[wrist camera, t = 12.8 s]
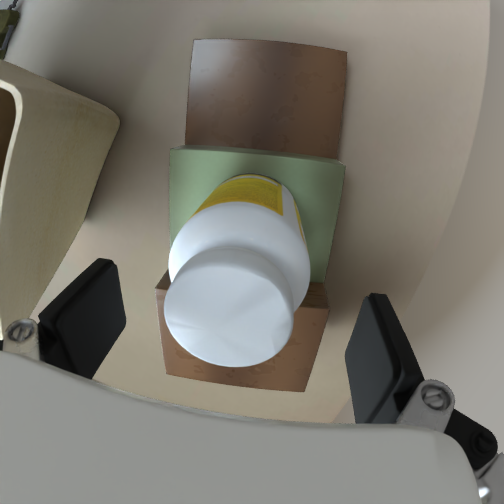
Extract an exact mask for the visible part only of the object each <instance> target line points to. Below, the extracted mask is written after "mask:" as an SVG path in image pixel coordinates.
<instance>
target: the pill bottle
mask: <svg viewBox="0 0 504 504" xmlns="http://www.w3.org/2000/svg"><path fill="white" fill-rule="evenodd" d="M169 275H170V279H171V285H170V287H169V289H168V291H167V293H166V296H165V301H164V316H165V320H166V323H167V326H168V328H169V330H170V332H171V334H172V335H173V337H174V338H175V339H176V341H177V342H178V343H179V344H180V345H181V346H182V347H183V348H184V349H186V350H187V351H188V352H190V353H191V354H193V355H194V356H196V357H198V358H200V359H202V360H204V361H206V362H209V363H212V364H216V365H221V366H227V367H245V366H252V365H256V364H259V363H262V362H264V361H266V360H268V359H270V358H272V357H273V356H275V355H276V354H277V353H278V352H279V351H281V350H282V348H283V347H284V346H285V345H286V343H287V342H288V340H289V338H290V336H291V333H292V330H293V322H294V312H295V311H296V310H297V308H298V307H299V306H300V304H301V303H302V301H303V299H304V297H305V295H306V292H307V290H308V286H309V281H310V259H309V254H308V249H307V244H306V240H305V236H304V232H303V228H302V224H301V220H300V215H299V210H298V207H297V204H296V201H295V199H294V198H293V196H292V194H291V193H290V192H289V190H288V189H287V188H286V187H285V186H284V185H283V184H281V183H280V182H279V181H277V180H275V179H274V178H272V177H269V176H267V175H263V174H258V173H244V174H239V175H235V176H233V177H230V178H228V179H227V180H225V181H223V182H222V183H221V184H220V185H218V186H217V187H216V188H215V189H214V190H213V192H212V193H211V194H210V195H209V196H208V197H207V199H206V200H205V201H204V202H203V203H202V204H201V206H200V207H199V208H198V209H197V210H196V211H195V213H194V214H193V215H192V216H191V217H190V219H189V220H188V221H187V222H186V223H185V224H184V226H183V227H182V228H181V230H180V231H179V233H178V234H177V236H176V238H175V240H174V242H173V245H172V248H171V252H170V256H169Z"/></svg>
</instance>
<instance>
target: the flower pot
mask: <svg viewBox="0 0 504 504" xmlns="http://www.w3.org/2000/svg"><path fill="white" fill-rule="evenodd" d="M119 126H120V120H119V117H118V116H117V115H116V114H115V113H114V112H113V111H112V110H110V109H109V108H107V107H105V106H104V105H102V104H100V103H98V102H95V101H93V100H91V99H89V98H86V97H84V96H82V95H80V94H77V93H75V92H72V91H70V90H68V89H66V88H64V87H61V86H59V85H57V84H55V83H53V82H51V81H49V80H47V79H45V78H43V77H41V76H38V75H36V74H34V73H32V72H30V71H28V70H25V69H23V68H21V67H18V66H16V65H14V64H11V63H9V62H6V61H3V60H0V340H3V339H4V334H5V330H6V329H7V327H8V326H9V325H10V324H11V323H13V322H14V321H16V320H19V319H23V318H29V317H30V315H31V313H32V312H33V310H34V308H35V307H36V305H37V303H38V301H39V300H40V298H41V296H42V295H43V293H44V291H45V290H46V288H47V286H48V285H49V283H50V281H51V279H52V278H53V276H54V274H55V272H56V271H57V269H58V267H59V266H60V264H61V262H62V260H63V258H64V257H65V255H66V253H67V251H68V249H69V248H70V246H71V244H72V242H73V240H74V239H75V237H76V235H77V233H78V231H79V229H80V227H81V225H82V224H83V222H84V219H85V216H86V212H87V209H88V206H89V203H90V200H91V197H92V194H93V191H94V189H95V186H96V183H97V180H98V178H99V175H100V172H101V169H102V167H103V164H104V162H105V159H106V157H107V154H108V152H109V150H110V147H111V145H112V142H113V140H114V138H115V136H116V133H117V131H118V129H119Z"/></svg>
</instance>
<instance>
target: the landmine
mask: <svg viewBox="0 0 504 504" xmlns="http://www.w3.org/2000/svg"><path fill="white" fill-rule="evenodd" d="M17 1H18V0H14V1H13V4H12V5H10V6H9V8H8V9H7V10H0V60H2V59H3V58H4V55H5V52H6V49H7V42H8V40H9V37H10V34H11V32H12V31H13V29H14V28H15V26H16V23H17V21H18V19H19V12H18V11H14V10H11V9H12V8H15V7H16V3H17Z"/></svg>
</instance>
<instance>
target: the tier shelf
mask: <svg viewBox="0 0 504 504" xmlns="http://www.w3.org/2000/svg"><path fill="white" fill-rule="evenodd" d="M346 66H347V52H345V51H340V50H335V49H330V48H324V47H318V46H312V45H305V44H297V43H288V42H279V41H267V40H250V39H194V40H193V48H192V57H191V67H190V78H189V89H188V102H187V116H186V133H185V145H183V146H179V147H175V148H172V149H170V173H169V224H170V252H171V248H172V245H173V242H174V240H175V238H176V236H177V234H178V233H179V231H180V230H181V228H182V227H183V226H184V224H185V223H186V222H187V221H188V220H189V219H190V217H191V216H192V215H193V214H194V213H195V211H196V210H197V209H198V208H199V207H200V206H201V204H202V203H203V202H204V201H205V200H206V199H207V197H208V196H209V195H210V194H211V193H212V192H213V190H214V189H215V188H216V187H217V186H218V185H220V184H221V183H222V182H223V181H225V180H227V179H228V178H230V177H233V176H235V175H239V174H244V173H258V174H263V175H267V176H269V177H272V178H274V179H275V180H277V181H279V182H280V183H281V184H283V185H284V186H285V187H286V188H287V189H288V190H289V192H290V193H291V194H292V196H293V198H294V199H295V201H296V204H297V207H298V210H299V215H300V220H301V224H302V228H303V232H304V236H305V240H306V244H307V249H308V254H309V259H310V281H309V286H308V290H307V292H306V295H305V297H304V299H303V301H302V303H301V304H300V306H299V307H298V308H297V310H296V311H295V312H294V322H293V330H292V333H291V336H290V338H289V340H288V342H287V343H286V345H285V346H284V347H283V348H282V350H281V351H279V352H278V353H277V354H276V355H275V356H273V357H272V358H270V359H268V360H266V361H264V362H262V363H259V364H256V365H252V366H245V367H227V366H221V365H216V364H212V363H209V362H206V361H204V360H202V359H200V358H198V357H196V356H194V355H193V354H191V353H190V352H188V351H187V350H186V349H184V348H183V347H182V346H181V345H180V344H179V343H178V342H177V341H176V339H175V338H174V337H173V335H172V334H171V332H170V330H169V328H168V326H167V323H166V320H165V316H164V301H165V296H166V293H167V291H168V289H169V287H170V285H171V279H170V275H169V268H168V270H167V271H166V273H165V274H164V276H163V277H162V279H161V280H160V282H159V283H158V285H157V286H156V287H155V294H156V304H157V313H158V321H159V329H160V336H161V344H162V351H163V357H164V364H165V370H166V374H169V375H173V376H178V377H184V378H189V379H194V380H200V381H206V382H212V383H219V384H226V385H233V386H241V387H249V388H258V389H268V390H279V391H292V392H304V391H305V389H306V386H307V383H308V380H309V377H310V374H311V371H312V368H313V365H314V361H315V358H316V355H317V352H318V349H319V345H320V342H321V339H322V335H323V332H324V329H325V325H326V322H327V318H328V314H329V311H330V308H329V304H328V300H327V295H326V291H325V287H324V279H325V274H326V270H327V265H328V261H329V256H330V251H331V247H332V242H333V237H334V232H335V226H336V221H337V216H338V210H339V205H340V199H341V193H342V187H343V181H344V175H345V168H346V166H345V165H344V164H342V163H341V162H339V161H337V160H336V158H337V150H338V143H339V135H340V127H341V118H342V109H343V100H344V89H345V78H346Z"/></svg>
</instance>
